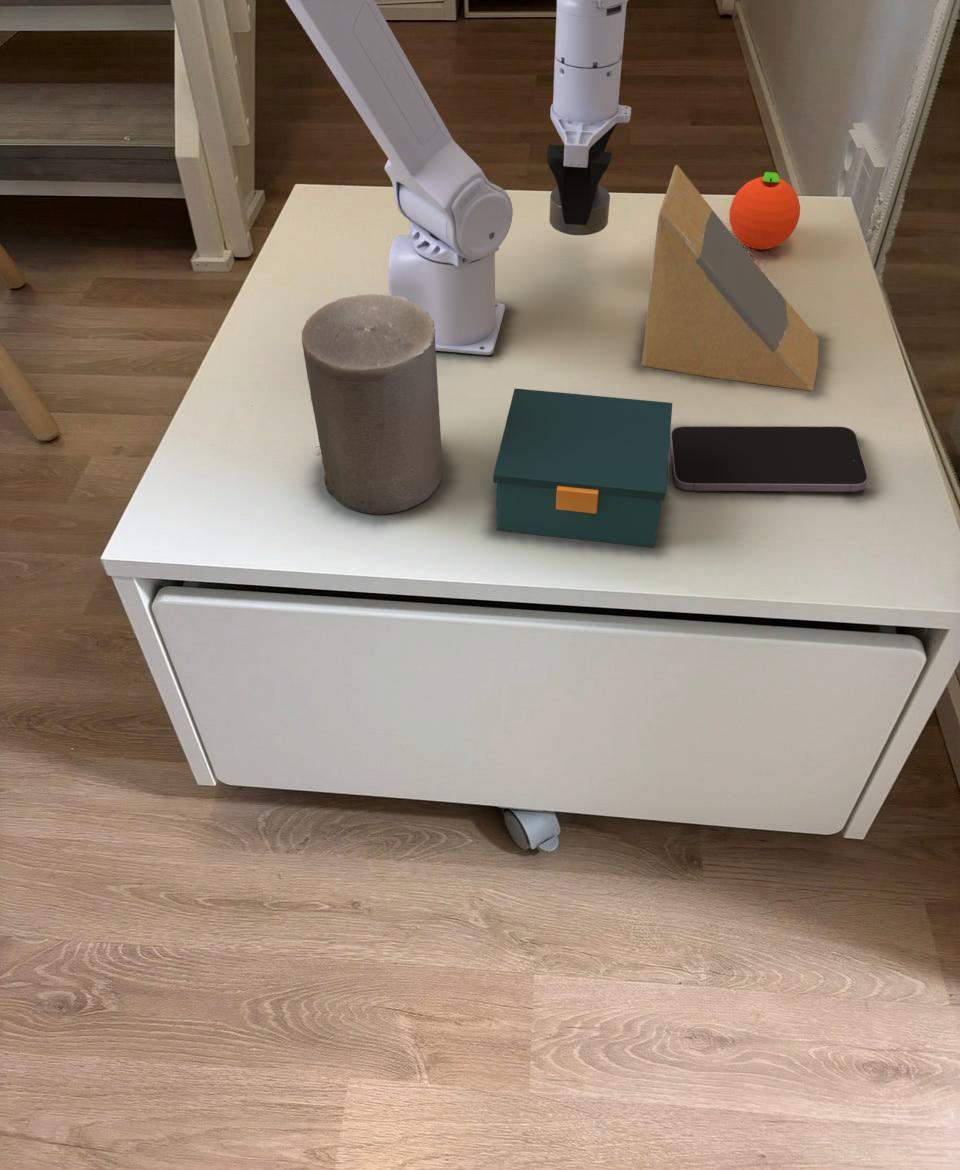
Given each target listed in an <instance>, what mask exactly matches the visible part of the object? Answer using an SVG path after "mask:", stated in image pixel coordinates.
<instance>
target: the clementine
mask: <svg viewBox="0 0 960 1170" xmlns="http://www.w3.org/2000/svg"><path fill="white" fill-rule="evenodd" d="M728 213H729V214H728V215H729V216H728V220H729V224H730V228H731V232H732V234H733V235H734V237H736V240H737V241H738V242H740V243H742V244H744V245H745V246H746V247H748V248H750V249H754V250H755V249H756V250H767V249H771V248H772V249H773V248H775V247H777V246H779V245H781V244H783V243H784V242H785V241H787V240H788V239H789V238H790V236H791V235H792V234H793V232H795V230H796V228H797V225H798V223H799V220H800V216H801V204H800V200H799V196H798V193H796V190H795V189H794V187H793V186H792V185H790V183H788V182H787V181H785V180H784V179H782V178H780V176H779V174H778V173H777V172H773V171H771V172H770V171H765V172H764V174H763V176H759V177H757V178H754V179H751V180H750V181H748V182H746V183H745V184H744V185H743V186H742V187H740V189H738V191H737V192H736V193H735V195H734V197H733V199H732V201H731V204H730V207H729V211H728Z"/></svg>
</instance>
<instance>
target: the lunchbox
mask: <svg viewBox="0 0 960 1170" xmlns="http://www.w3.org/2000/svg"><path fill="white" fill-rule="evenodd" d="M672 415H673V402H667V401H656V400H646V399H636V398H635V399H634V398H624V397H614V396H603V395H592V394H591V395H590V394H581V393H570V392H558V391H547V390H537V389H526V388H525V389H524V388H514V389H513V392H512V397H511V401H510V404H509V409H508V413H507V417H506V420H505V421H506V422H505V426H504V430H503V434H502V438H501V442H500V445H499V450H498V453H497V457H496V461H495V466H494V470H493V473H492V482H493V484H495V487H496V490H495V491H496V493H495V494H496V499H495V500H496V531H501V532H512V533H521V534H530V535H537V536H538V535H539V536H548V537H556V538H557V537H558V538H565V539H574V540H584V541H592V542H593V541H594V542H602V543H603V542H604V543H612V544H620V545H628V546H629V545H630V546H638V547H647V548H655V545H656V537H657V532H658V524H659V519H660V511H661V506H662V501H665V499H666V489H667V477H668V465H669V453H670V451H669V450H670V435H671V428H672Z"/></svg>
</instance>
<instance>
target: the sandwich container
mask: <svg viewBox="0 0 960 1170" xmlns="http://www.w3.org/2000/svg"><path fill="white" fill-rule="evenodd" d="M735 237H736V236H735V235H734V234H733V233H732V232H731V231H730V230H729V229H728V227H727V226H726V225H725V223H723V221H722V220H721V219H720V218H719V216H718V215H717V213H716V212H715V211H714V210H713V208H712V207H711V206H710V205H709V203H708V202H707V201H706V199H705V198H704V197H703V195H701V193H700V192H699V190H698V189H697V188H696V187H695V185H694V184H693V183H692V182H691V180H690V179H689V178H688V177H687V175H686V174H685V172H683V170H682V169H681V167H680V166H679V165H678V164H675V165H674V168H673V170H672V174H671V177H670V180H669V184H668V187H667V189H666V192H665V195H664V198H663V200H662V203H661V205H660V209H659V212H658V217H657V227H656V234H655V242H654V251H653V260H652V268H651V269H652V270H651V277H650V286H649V294H648V304H647V310H646V311H647V312H646V322H645V328H644V329H645V330H644V336H643V337H644V338H643V348H642V357H641V366H643V367H646V368H647V367H648V368H655V369H658V370H659V369H660V370H666V371H672V372H677V373H684V374H689V375H694V376H695V375H696V376H701V377H707V378H715V379H723V380H728V381H729V380H730V381H737V382H744V383H750V384H751V383H752V384H760V385H767V386H773V387H781V388H787V389H789V388H790V389H795V390H803V391H810V392H814V389H815V384H816V377H817V371H818V367H819V343H820V342H819V341H820V340H819V337H818V336H817V335H816V334H815V333H814V332H813V331H812V329H811V328H810V327H809V325H808V324H807V323H806V322H805V321H804V319H803V318H802V317H801V316H800V315H799V314H798V313H797V312H796V309H794V308H793V307H792V305H791V304H790V303H789V302H788V301H787V300H786V298H785V297H784V296H783V295H782V294H781V292H780V291H779V290H778V289H777V287H776V286H775V285H774V284H773V282H772V281H771V280H770V279H769V278H768V276H767V275H766V274H765V273H764V272H763V271H762V269H761V268H760V267H759V265H758V264H757V263H756V262H755V260H754V259H753V258H752V257H751V256H750V255H749V253H748V252H747V251H746V249H745V248H744V247H743V246H742V245H741V242H740V241H739V240H738V239H737V238H735Z"/></svg>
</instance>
